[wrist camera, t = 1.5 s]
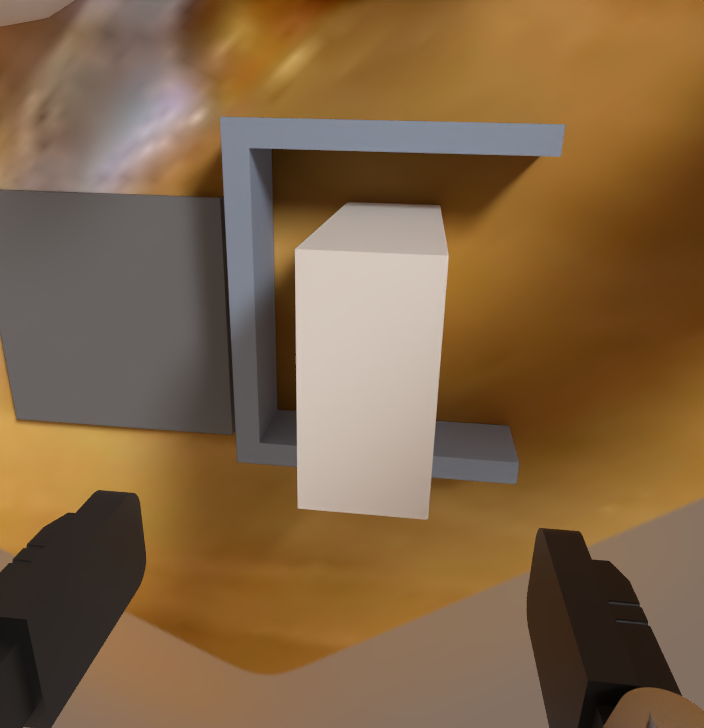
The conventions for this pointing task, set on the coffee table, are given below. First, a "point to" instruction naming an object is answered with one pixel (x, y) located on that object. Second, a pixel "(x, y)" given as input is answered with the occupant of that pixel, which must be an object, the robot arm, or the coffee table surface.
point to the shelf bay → (257, 282)
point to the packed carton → (369, 358)
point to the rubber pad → (117, 309)
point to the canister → (28, 10)
